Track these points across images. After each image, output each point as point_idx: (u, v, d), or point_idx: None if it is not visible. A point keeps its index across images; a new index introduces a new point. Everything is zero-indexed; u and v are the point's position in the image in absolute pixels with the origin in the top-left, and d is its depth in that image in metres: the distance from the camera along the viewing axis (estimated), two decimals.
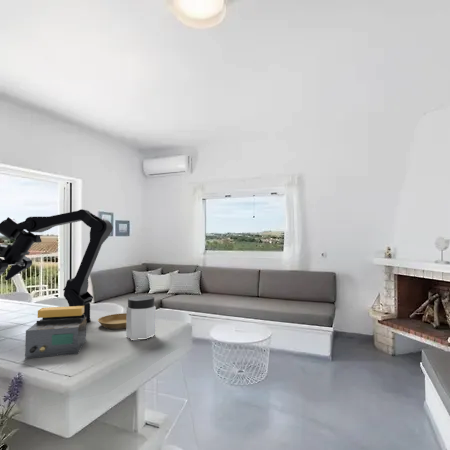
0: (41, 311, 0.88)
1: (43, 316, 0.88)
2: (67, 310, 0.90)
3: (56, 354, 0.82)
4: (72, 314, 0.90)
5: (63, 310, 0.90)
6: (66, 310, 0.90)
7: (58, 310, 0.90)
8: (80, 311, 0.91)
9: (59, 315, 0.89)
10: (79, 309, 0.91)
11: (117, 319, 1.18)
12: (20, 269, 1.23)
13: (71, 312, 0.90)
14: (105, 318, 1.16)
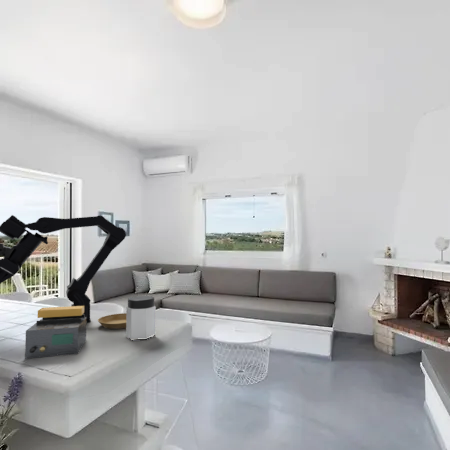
0: (41, 311, 0.88)
1: (43, 316, 0.88)
2: (67, 310, 0.90)
3: (56, 354, 0.82)
4: (72, 314, 0.90)
5: (63, 310, 0.90)
6: (66, 310, 0.90)
7: (58, 310, 0.90)
8: (80, 311, 0.91)
9: (59, 315, 0.89)
10: (79, 309, 0.91)
11: (117, 319, 1.18)
12: None
13: (71, 312, 0.90)
14: (105, 318, 1.16)
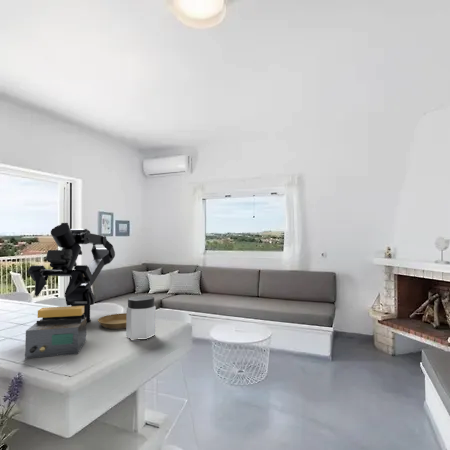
0: (41, 311, 0.88)
1: (43, 316, 0.88)
2: (67, 310, 0.90)
3: (56, 354, 0.82)
4: (72, 314, 0.90)
5: (63, 310, 0.90)
6: (66, 310, 0.90)
7: (58, 310, 0.90)
8: (80, 311, 0.91)
9: (59, 315, 0.89)
10: (79, 309, 0.91)
11: (117, 319, 1.18)
12: (45, 283, 1.04)
13: (71, 312, 0.90)
14: (105, 318, 1.16)
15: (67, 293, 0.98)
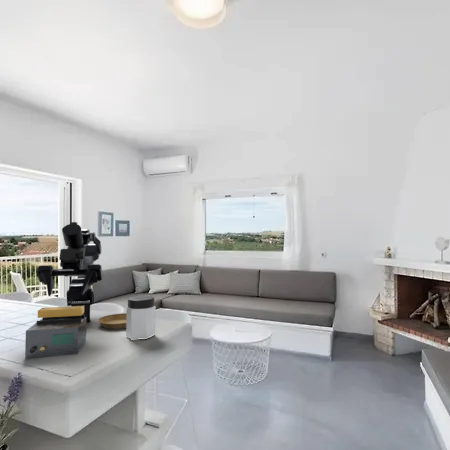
0: (41, 311, 0.88)
1: (43, 316, 0.88)
2: (67, 310, 0.90)
3: (56, 354, 0.82)
4: (72, 314, 0.90)
5: (63, 310, 0.90)
6: (66, 310, 0.90)
7: (58, 310, 0.90)
8: (80, 311, 0.91)
9: (59, 315, 0.89)
10: (79, 309, 0.91)
11: (117, 319, 1.18)
12: (53, 283, 1.01)
13: (71, 312, 0.90)
14: (105, 318, 1.16)
15: (83, 292, 0.97)
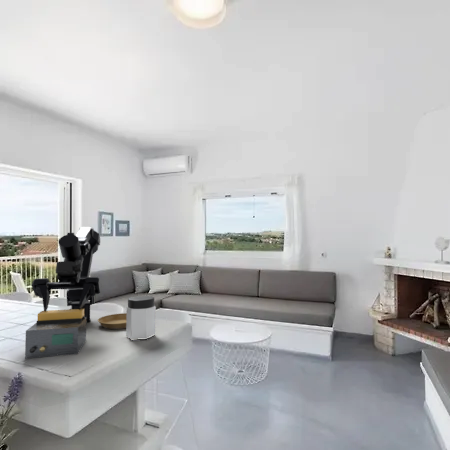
0: (41, 314, 0.88)
1: (43, 319, 0.88)
2: (67, 313, 0.90)
3: (56, 354, 0.82)
4: (72, 317, 0.90)
5: (63, 313, 0.90)
6: (66, 313, 0.90)
7: (58, 313, 0.90)
8: (80, 314, 0.91)
9: (59, 318, 0.89)
10: (79, 312, 0.91)
11: (117, 319, 1.18)
12: (49, 297, 0.97)
13: (71, 315, 0.90)
14: (105, 318, 1.16)
15: (81, 306, 0.94)
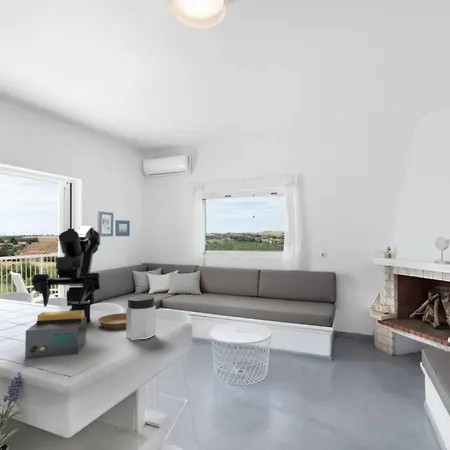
0: (41, 316, 0.88)
1: None
2: (67, 315, 0.90)
3: (56, 354, 0.82)
4: None
5: (63, 315, 0.90)
6: (66, 314, 0.90)
7: (58, 315, 0.89)
8: (80, 316, 0.91)
9: None
10: (79, 314, 0.91)
11: (117, 319, 1.18)
12: (49, 292, 0.97)
13: (71, 316, 0.90)
14: (105, 318, 1.16)
15: (81, 302, 0.94)
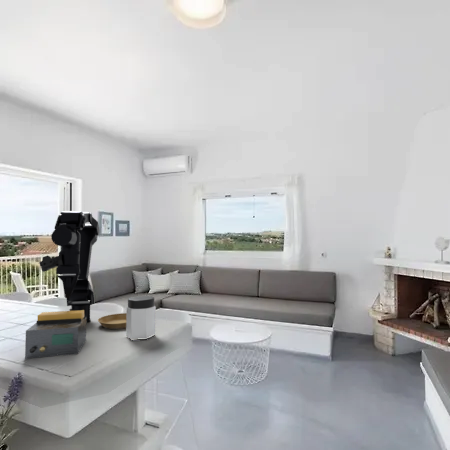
0: (41, 316, 0.88)
1: None
2: (67, 315, 0.90)
3: (56, 354, 0.82)
4: None
5: (63, 315, 0.90)
6: (66, 314, 0.90)
7: (58, 315, 0.89)
8: (80, 316, 0.91)
9: None
10: (79, 314, 0.91)
11: (117, 319, 1.18)
12: None
13: (71, 316, 0.90)
14: (105, 318, 1.16)
15: (67, 296, 0.97)
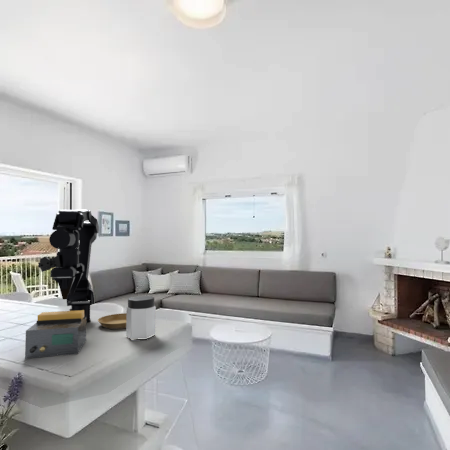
0: (41, 316, 0.88)
1: None
2: (67, 315, 0.90)
3: (56, 354, 0.82)
4: None
5: (63, 315, 0.90)
6: (66, 314, 0.90)
7: (58, 315, 0.89)
8: (80, 316, 0.91)
9: None
10: (79, 314, 0.91)
11: (117, 319, 1.18)
12: (79, 275, 1.08)
13: (71, 316, 0.90)
14: (105, 318, 1.16)
15: (64, 297, 0.97)
